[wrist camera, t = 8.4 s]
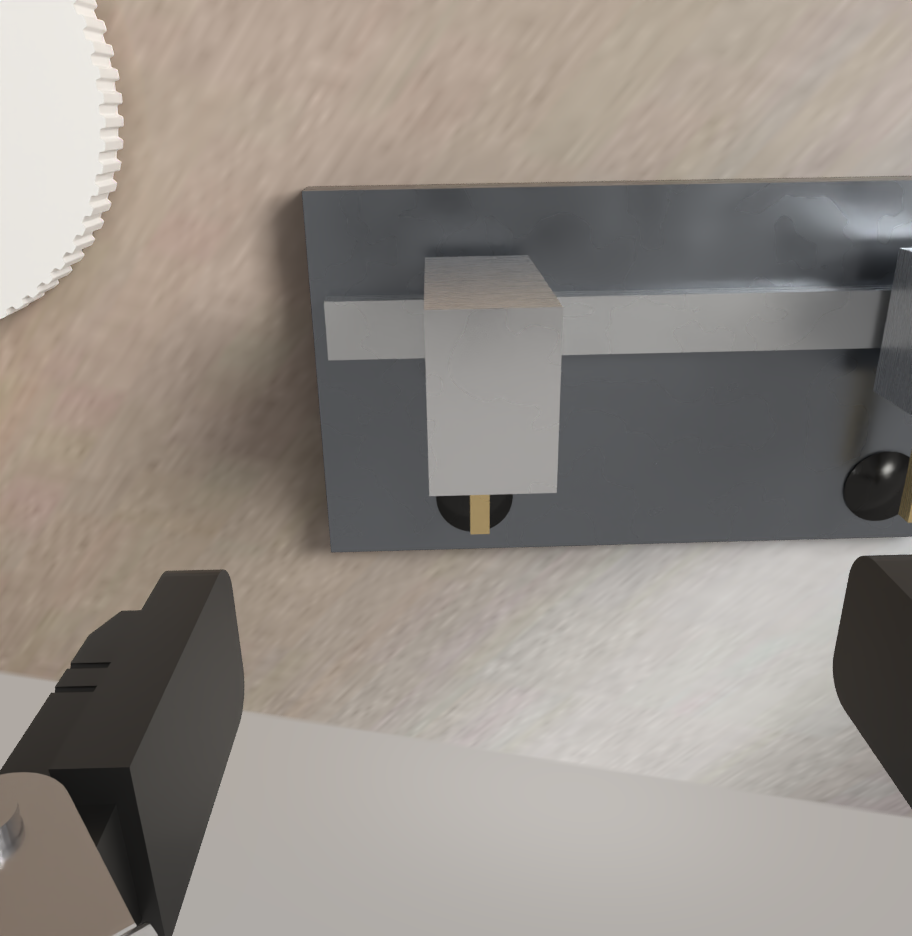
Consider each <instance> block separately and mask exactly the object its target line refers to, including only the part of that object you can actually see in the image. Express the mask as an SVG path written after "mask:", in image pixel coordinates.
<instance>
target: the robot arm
mask: <svg viewBox="0 0 912 936" xmlns="http://www.w3.org/2000/svg"><path fill="white" fill-rule="evenodd" d="M833 677H834V684H835V688H836V692H837V695H838V698H839V700H840V703H841V705H842V706H843V708H844V710H845V711H846V713H847V714H848V716H849V717H850V719H851V720H852V722H853V723H854V724H855V726H856V727H857V729H858V730H859V732H860V733H861V735H862V736H863V738H864V739H865V741H866V742H867V744H868V745H869V747H870V748H871V750H872V751H873V752H874V754H875V755H876V757H877V758H878V760H879V761H880V763H881V764H882V766H883V767H884V769H885V770H886V772H887V773H888V775H889V776H890V777H891V779H892V780H893V782H894V783H895V785H896V786H897V788H898V789H899V791H900V792H901V794H902V795H903V797H904V798H905V800H906V801H907V803H908V804H909V805H910V807H911V808H912V555H879V556H861V557H859V558H857V559H856V561H855V562H854V563H853V565H852V567H851V570H850V573H849V578H848V583H847V588H846V594H845V599H844V604H843V609H842V615H841V620H840V625H839V630H838V636H837V641H836V646H835V651H834V657H833ZM243 701H244V671H243V663H242V656H241V649H240V641H239V634H238V626H237V619H236V612H235V604H234V597H233V589H232V584H231V579H230V576H229V574H228V572H227V571H226V570H184V571H166V572H164V573H163V574H162V576H161V577H160V579H159V581H158V582H157V584H156V586H155V588H154V589H153V591H152V593H151V594H150V596H149V598H148V600H147V601H146V603H145V605H144V606H143V608H142V610H138V611H121V612H119V613H118V614H117V615H115V616H114V617H113V618H111V619H110V620H109V621H107V622H106V623H105V624H103V625H102V626H101V627H99V628H98V629H97V630H95V631H94V632H93V633H91V634H90V635H89V636H88V637H87V639H86V640H85V642H84V644H83V645H82V647H81V648H80V650H79V651H78V653H77V654H76V656H75V657H74V659H73V660H72V662H71V668H70V669H66V671H65V673H64V674H63V676H62V677H61V679H60V680H59V682H58V683H57V685H56V686H55V693H51V694H50V695H49V697H48V698H47V700H46V702H45V703H44V705H43V706H42V708H41V709H40V711H39V712H38V714H37V715H36V717H35V718H34V720H33V721H32V723H31V725H30V726H29V728H28V729H27V731H26V732H25V734H24V735H23V737H22V738H21V740H20V741H19V743H18V744H17V746H16V747H15V749H14V751H13V752H12V753H11V755H10V756H9V758H8V759H7V761H6V763H5V764H4V766H3V767H2V769H1V770H0V936H172V934H173V931H174V928H175V925H176V922H177V919H178V916H179V912H180V909H181V906H182V903H183V900H184V897H185V893H186V890H187V887H188V884H189V881H190V878H191V875H192V871H193V868H194V865H195V862H196V859H197V856H198V853H199V849H200V846H201V843H202V840H203V837H204V834H205V830H206V827H207V824H208V821H209V817H210V815H211V812H212V808H213V805H214V802H215V799H216V796H217V793H218V789H219V786H220V783H221V780H222V777H223V774H224V771H225V767H226V764H227V761H228V758H229V755H230V752H231V749H232V745H233V742H234V739H235V736H236V733H237V730H238V727H239V723H240V719H241V715H242V709H243Z"/></svg>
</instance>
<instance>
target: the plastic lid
mask: <svg viewBox="0 0 912 936" xmlns="http://www.w3.org/2000/svg"><path fill="white" fill-rule="evenodd" d="M96 8H97V3H96V1H95V0H0V319H2V318H4V317H6V316H8V315H10V314H12V313H14V312H16V311H18V310H20V309H22V308H24V307H26V306H28V305H29V303H31V302H33V301H35V300H37V299H39V298H41V297H42V296H44V295H45V294H44V292H46V291H48V290H50V289H52V288H54V287H55V286H57V285H58V284H59V281H58V279H60V278H62V277H65V276H67V275H68V274H69V273H70V272H71V271H72V268H71V266H70V265H72V264H74V263H77V262H79V261H81V259H82V258H83V257H84V253H83V252H82V249H84V248H86V247H89V246H91V245H92V244H93V242H94V240H95V238H94V237H93V235H92V233H93V231H96V230H98V229H101V228H102V226H103V223H104V221H103V219H102V218H101V214H102V212H105V211H108V210H109V209H110V206H111V202H110V201H109V200H108V195H109V193H110V192H113V191H115V190H116V187H117V182H116V181H115V180H114V179H113V175H114V172H115V171H119V170H120V167H121V161H120V160H118V159H117V150H120V149H123V139H121V138H120V137H119V136H118V128H120V127H123V126H124V118H123V116H121V115H119V114H118V105H119V104H122V94H121V93H119V92H117V91H116V88H115V81H117V80H119V74H118V70H117V69H115V68H112V66H111V62H110V58H111V57H112V56H114V52H113V48H112V45H110V44H106V43H105V40H104V37H103V34H104V33H105V32H106V31H107V29H106V26H105V23H104V21H103V20H99V19H97V17H96V15H95V12H94V10H95V9H96Z"/></svg>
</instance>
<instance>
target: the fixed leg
mask: <svg viewBox="0 0 912 936" xmlns="http://www.w3.org/2000/svg"><path fill="white" fill-rule="evenodd" d="M873 391H874V392H875V393H877V394H879V395H880V396H882V397H883V398H885V399H886V400H888V401H890V402H891V403H893V404H894V405H896V406H897V407H899V408H901V409H902V410H904V411H905V412H907V413H908V414H910V415H912V248H899V253H898V259H897V264H896V269H895V275H894V280H893V286H892V291H891V296H890V302H889V307H888V313H887V318H886V323H885V329H884V334H883V340H882V345H881V351H880V356H879V361H878V367H877V372H876V378H875V383H874V388H873ZM898 515H900V516H901V517H902V518H903V519H904V520H905V521H906V522H908V523H911V522H912V450H911V455H910V460H909V465H908V470H907V474H906V479H905V484H904V489H903V493H902V498H901V503H900V508H899V513H898Z"/></svg>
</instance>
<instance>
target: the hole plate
mask: <svg viewBox="0 0 912 936" xmlns="http://www.w3.org/2000/svg"><path fill="white" fill-rule="evenodd" d="M302 199H303V211H304V224H305V236H306V248H307V261H308V273H309V285H310V297H311V310H312V322H313V334H314V347H315V359H316V371H317V383H318V396H319V408H320V420H321V433H322V445H323V457H324V470H325V482H326V494H327V506H328V519H329V531H330V543H331V552H362V551H399V550H435V549H471V548H508V547H544V546H581V545H617V544H653V543H690V542H726V541H763V540H799V539H835V538H872V537H908V536H912V522H911V523H908V522H906V521H905V520H904V519H903V518H902V517H901V516H900V515H898V513H899V508H900V503H901V498H902V493H903V489H904V484H905V479H906V474H907V470H908V465H909V460H910V455H911V450H912V415H910V414H908V413H907V412H905V411H904V410H902V409H901V408H899V407H897V406H896V405H894V404H893V403H891V402H890V401H888V400H886V399H885V398H883V397H882V396H880V395H879V394H877V393H875V392H874V391H873V388H874V383H875V378H876V372H877V367H878V361H879V356H880V351H881V345H882V340H883V334H884V329H885V323H886V318H887V313H888V307H889V302H890V296H891V291H892V286H893V280H894V275H895V269H896V264H897V259H898V253H899V248H912V176H880V177H824V178H768V179H712V180H656V181H600V182H544V183H488V184H432V185H375V186H319V187H307V188H306V189H304V190H303V191H302ZM514 255H528V256H529V257H530V259H531V260H532V262H533V263H534V265H535V266H536V268H537V269H538V271H539V272H540V274H541V275H542V277H543V278H544V280H545V281H546V283H547V284H548V285H549V287H550V288H551V290H552V291H553V293H554V294H555V296H556V297H557V299H558V300H559V302H560V303H561V305H562V306H563V327H562V356H561V385H560V413H559V442H558V471H557V493H533V494H495V495H490V534H470V509H469V495H457V496H429V468H428V434H427V400H426V366H425V332H424V276H425V257H463V256H514Z"/></svg>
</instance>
